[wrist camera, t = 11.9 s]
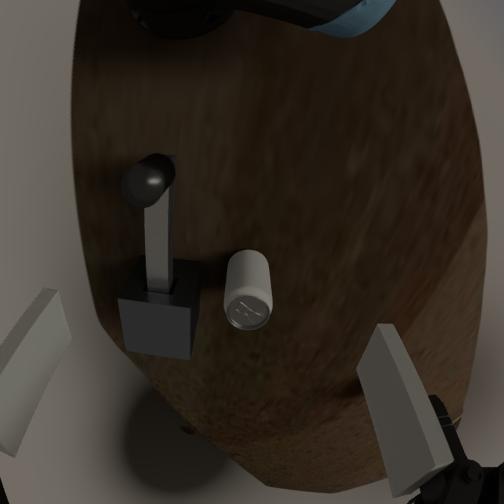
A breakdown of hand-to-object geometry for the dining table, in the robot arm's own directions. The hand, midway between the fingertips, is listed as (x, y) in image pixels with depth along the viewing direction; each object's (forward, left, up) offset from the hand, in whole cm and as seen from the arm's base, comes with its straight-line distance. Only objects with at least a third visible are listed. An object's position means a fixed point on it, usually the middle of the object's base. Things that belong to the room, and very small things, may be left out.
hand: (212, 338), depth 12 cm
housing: (+22, -9, -35) cm, 42 cm away
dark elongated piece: (+12, -9, -29) cm, 32 cm away
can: (+17, +3, -35) cm, 39 cm away
